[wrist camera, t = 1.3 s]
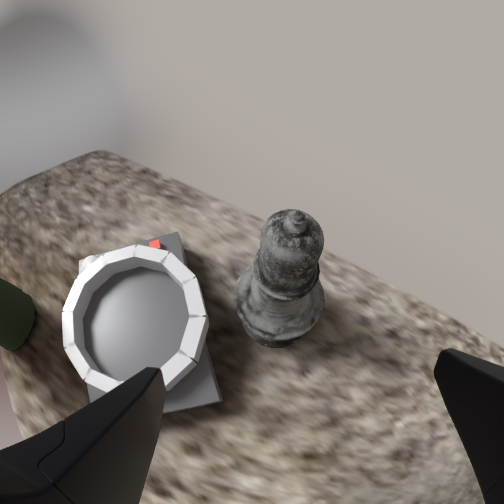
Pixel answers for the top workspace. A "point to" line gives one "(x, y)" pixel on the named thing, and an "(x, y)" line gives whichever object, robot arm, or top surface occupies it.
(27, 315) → the character mug
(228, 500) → the top surface
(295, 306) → the grey stone finial
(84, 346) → the faceted bowl on plate
